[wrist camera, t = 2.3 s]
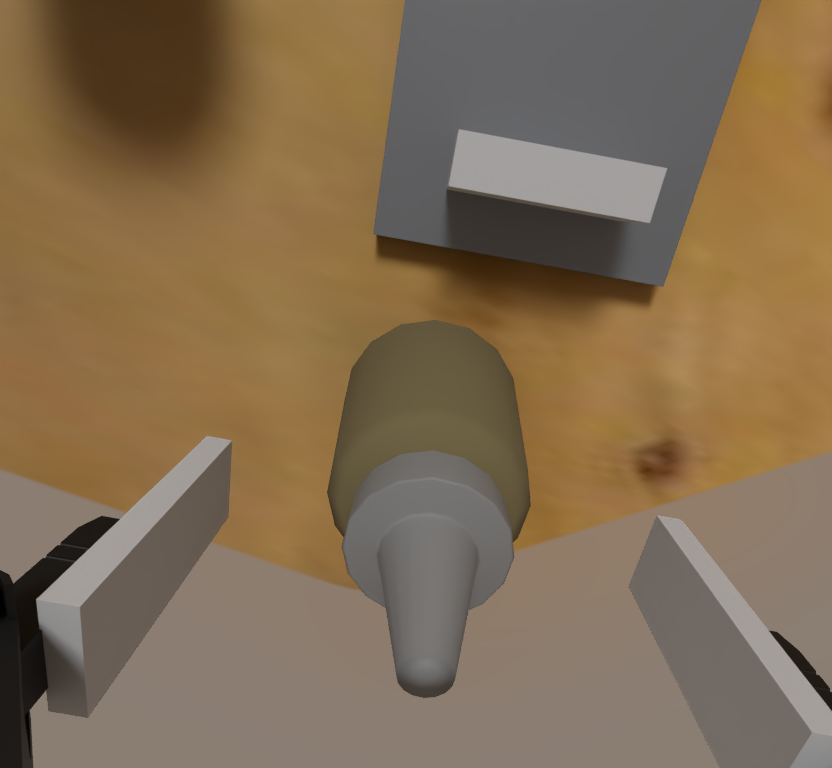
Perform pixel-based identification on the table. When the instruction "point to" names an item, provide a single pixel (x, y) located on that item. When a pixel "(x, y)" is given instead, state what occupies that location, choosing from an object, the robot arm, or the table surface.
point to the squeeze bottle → (429, 488)
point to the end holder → (557, 127)
